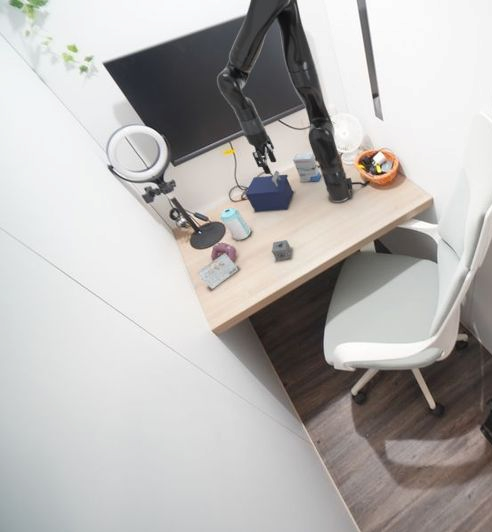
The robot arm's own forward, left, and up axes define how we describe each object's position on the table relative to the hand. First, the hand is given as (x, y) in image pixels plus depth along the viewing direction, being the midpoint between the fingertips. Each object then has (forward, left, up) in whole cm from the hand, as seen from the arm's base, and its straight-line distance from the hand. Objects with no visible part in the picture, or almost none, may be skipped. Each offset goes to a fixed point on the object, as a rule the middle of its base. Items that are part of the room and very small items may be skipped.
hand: (271, 167), depth 130 cm
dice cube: (-2, +34, -17) cm, 38 cm away
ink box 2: (-10, -15, -17) cm, 25 cm away
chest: (+6, -1, -17) cm, 18 cm away
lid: (+5, -1, -8) cm, 10 cm away
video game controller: (+21, +30, -17) cm, 41 cm away
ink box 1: (+19, +41, -17) cm, 49 cm away
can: (+17, +18, -17) cm, 30 cm away
